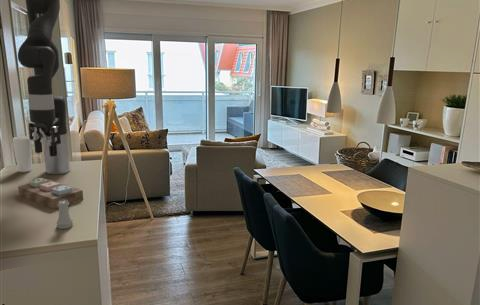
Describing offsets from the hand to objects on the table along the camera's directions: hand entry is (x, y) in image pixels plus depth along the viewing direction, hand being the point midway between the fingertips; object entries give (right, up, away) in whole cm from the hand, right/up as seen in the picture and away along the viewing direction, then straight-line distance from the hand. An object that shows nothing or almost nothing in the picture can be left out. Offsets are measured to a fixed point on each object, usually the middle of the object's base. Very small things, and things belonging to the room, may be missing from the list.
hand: (46, 154), depth 121 cm
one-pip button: (-1, -13, +4) cm, 14 cm away
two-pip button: (+5, -14, 0) cm, 15 cm away
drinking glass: (-28, -8, +33) cm, 44 cm away
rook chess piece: (+15, -22, -17) cm, 32 cm away
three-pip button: (-7, -12, +7) cm, 15 cm away
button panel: (-1, -16, +4) cm, 16 cm away
